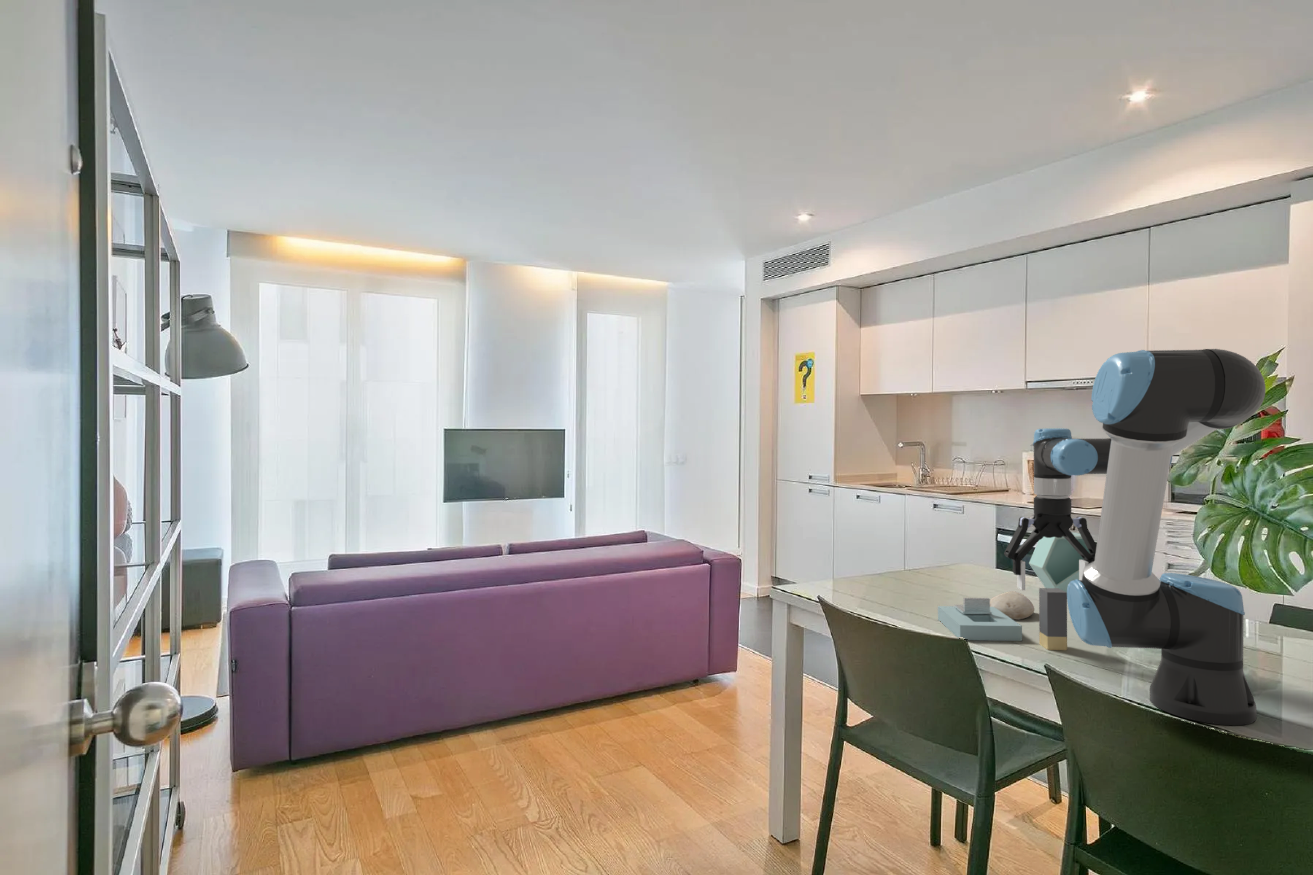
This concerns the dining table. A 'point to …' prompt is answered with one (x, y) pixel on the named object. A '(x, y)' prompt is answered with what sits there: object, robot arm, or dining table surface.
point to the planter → (1056, 561)
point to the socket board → (980, 625)
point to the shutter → (974, 606)
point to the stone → (1013, 605)
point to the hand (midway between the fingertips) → (1052, 589)
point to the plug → (1053, 618)
